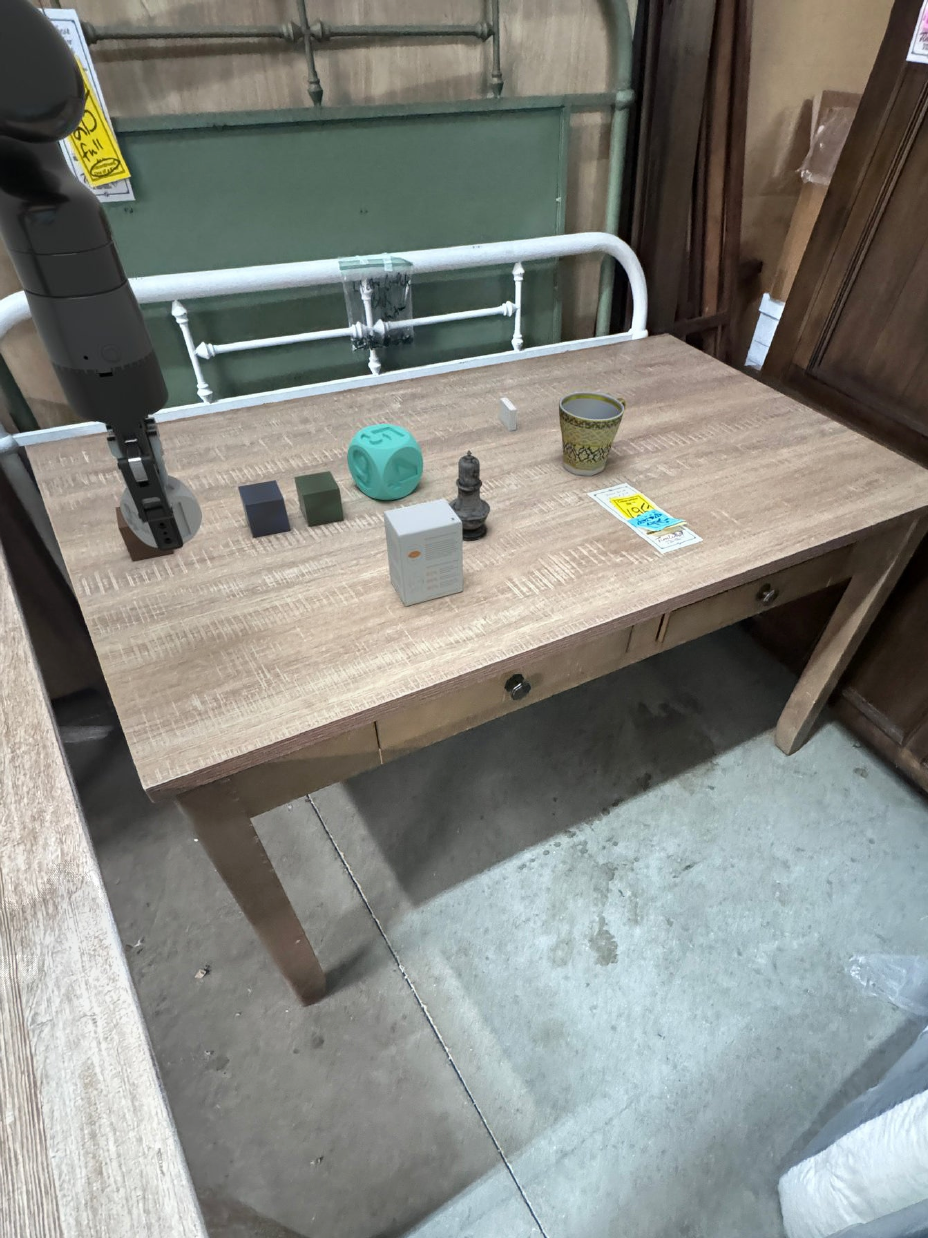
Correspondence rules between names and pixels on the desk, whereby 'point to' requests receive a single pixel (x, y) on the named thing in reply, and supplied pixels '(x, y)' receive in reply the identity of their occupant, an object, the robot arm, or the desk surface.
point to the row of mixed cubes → (264, 510)
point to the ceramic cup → (588, 430)
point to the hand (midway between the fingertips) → (167, 526)
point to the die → (184, 513)
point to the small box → (424, 551)
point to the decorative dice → (385, 461)
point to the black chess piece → (470, 499)
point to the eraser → (508, 414)
